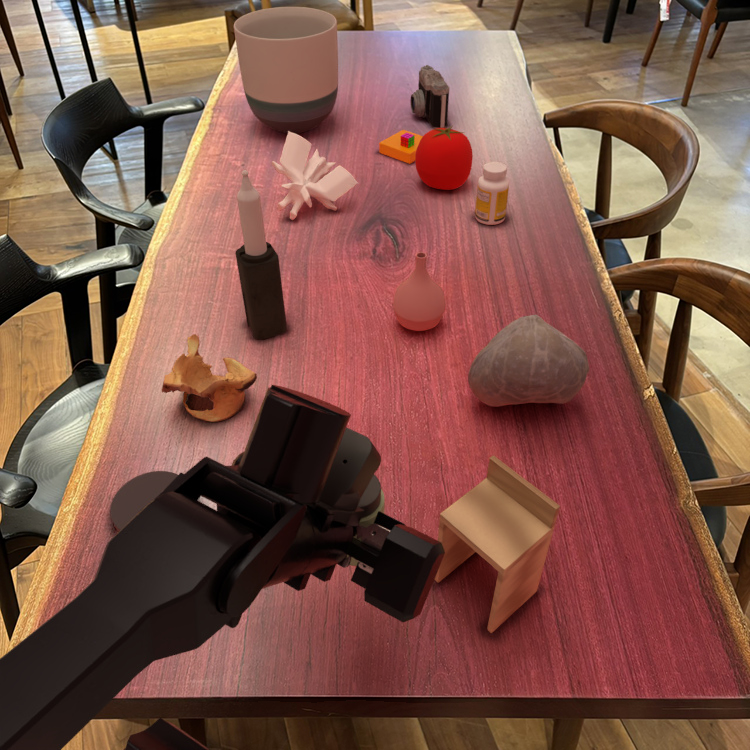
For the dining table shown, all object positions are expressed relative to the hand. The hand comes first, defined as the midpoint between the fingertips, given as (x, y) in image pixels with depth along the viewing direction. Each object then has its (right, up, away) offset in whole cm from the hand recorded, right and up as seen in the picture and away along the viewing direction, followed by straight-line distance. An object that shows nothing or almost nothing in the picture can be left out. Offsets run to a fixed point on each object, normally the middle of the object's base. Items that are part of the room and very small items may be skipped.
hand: (365, 521), depth 64 cm
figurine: (-11, +45, +68) cm, 82 cm away
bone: (-20, +10, +31) cm, 38 cm away
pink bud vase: (+7, +21, +42) cm, 47 cm away
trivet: (-24, -2, +17) cm, 30 cm away
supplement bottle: (+21, +41, +64) cm, 79 cm away
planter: (-17, +67, +93) cm, 116 cm away
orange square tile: (+7, +59, +83) cm, 102 cm away
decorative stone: (+20, +9, +29) cm, 37 cm away
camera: (+12, +71, +96) cm, 120 cm away
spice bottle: (-1, -2, 0) cm, 2 cm away
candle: (-15, +20, +42) cm, 49 cm away
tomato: (+14, +49, +73) cm, 89 cm away
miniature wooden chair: (+12, -9, +10) cm, 18 cm away
